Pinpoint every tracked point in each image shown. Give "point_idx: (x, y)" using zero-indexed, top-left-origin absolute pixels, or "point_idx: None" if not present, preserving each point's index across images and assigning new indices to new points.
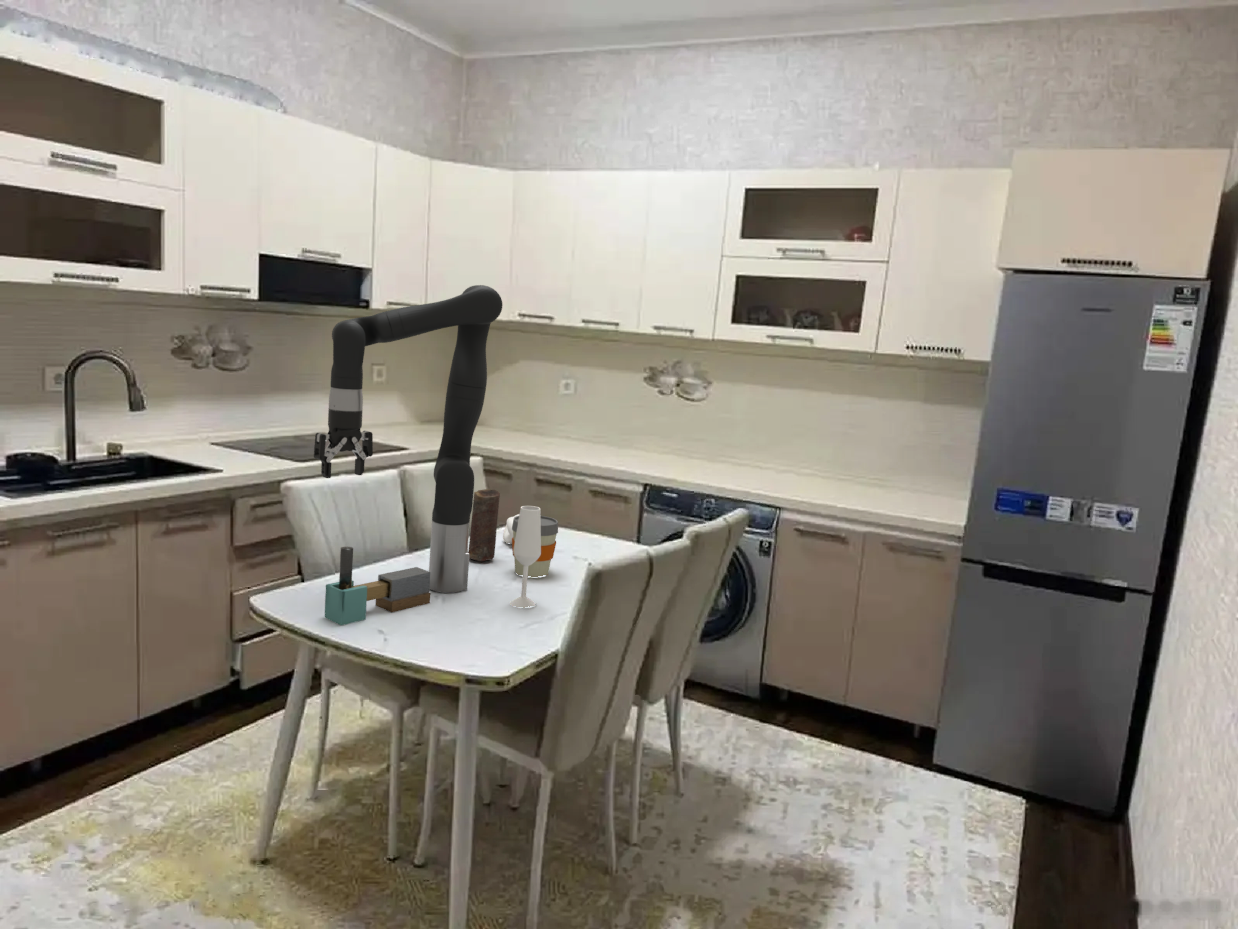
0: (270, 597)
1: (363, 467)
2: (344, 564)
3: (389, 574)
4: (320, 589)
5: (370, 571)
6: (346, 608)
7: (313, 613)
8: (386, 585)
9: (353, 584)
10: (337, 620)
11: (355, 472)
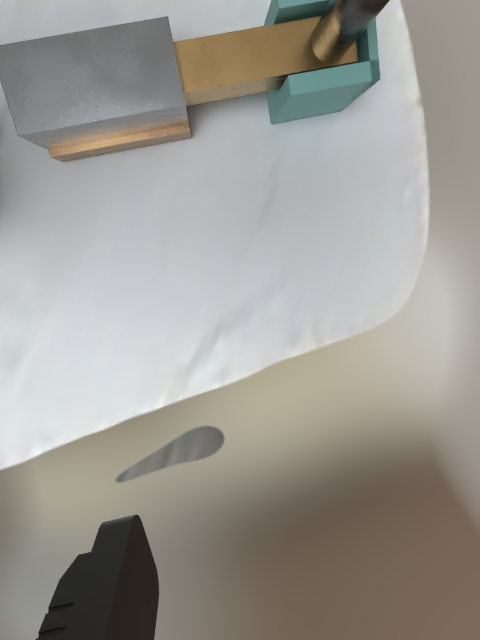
0: (383, 305)
1: (56, 616)
2: None
3: (148, 90)
4: (264, 316)
5: (97, 402)
6: None
7: (349, 154)
8: (183, 42)
9: (285, 80)
10: None
11: (154, 588)
